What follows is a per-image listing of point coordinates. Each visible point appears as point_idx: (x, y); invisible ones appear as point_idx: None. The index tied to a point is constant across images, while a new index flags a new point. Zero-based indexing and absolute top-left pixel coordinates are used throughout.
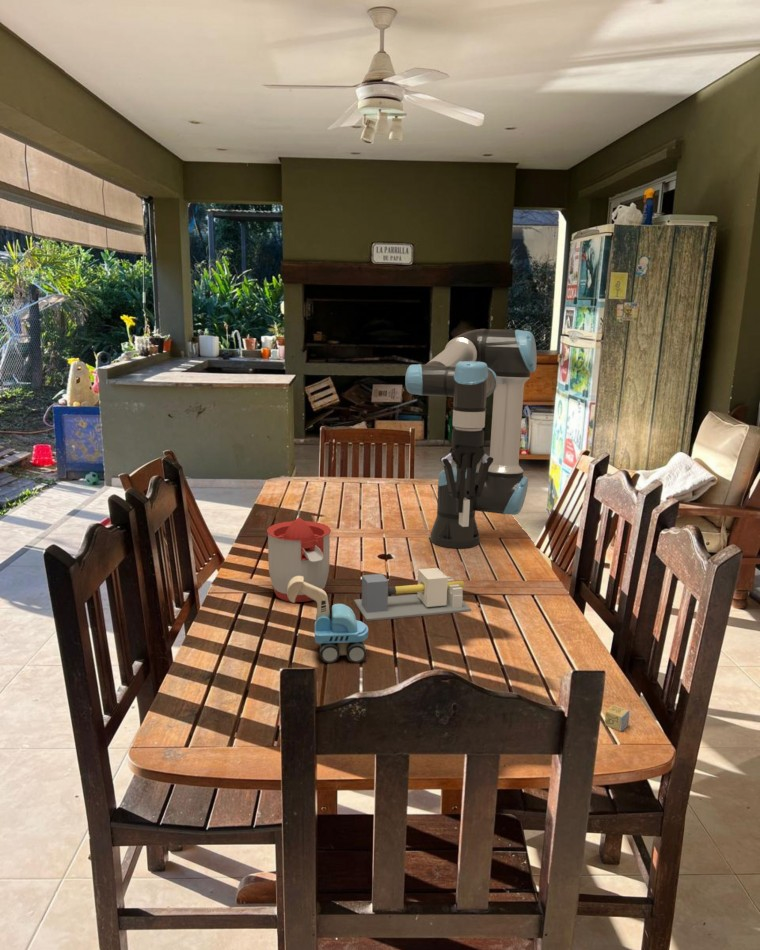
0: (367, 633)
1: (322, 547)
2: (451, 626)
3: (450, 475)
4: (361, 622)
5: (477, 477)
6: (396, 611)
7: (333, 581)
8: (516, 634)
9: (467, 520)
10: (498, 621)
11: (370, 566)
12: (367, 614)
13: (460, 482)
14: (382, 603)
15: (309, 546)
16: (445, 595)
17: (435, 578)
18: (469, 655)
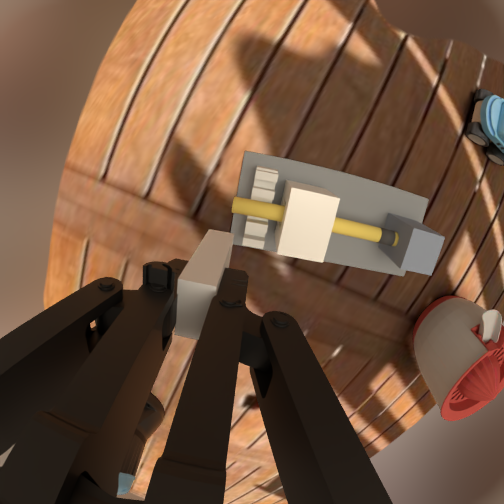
0: (487, 98)
1: (480, 338)
2: (318, 109)
3: (345, 450)
4: (493, 120)
5: (60, 390)
6: (376, 203)
7: (378, 351)
8: (228, 40)
9: (210, 238)
10: (224, 92)
11: None
12: (419, 214)
13: (233, 383)
14: (402, 218)
15: (487, 345)
16: (290, 182)
17: (321, 195)
18: (345, 20)
